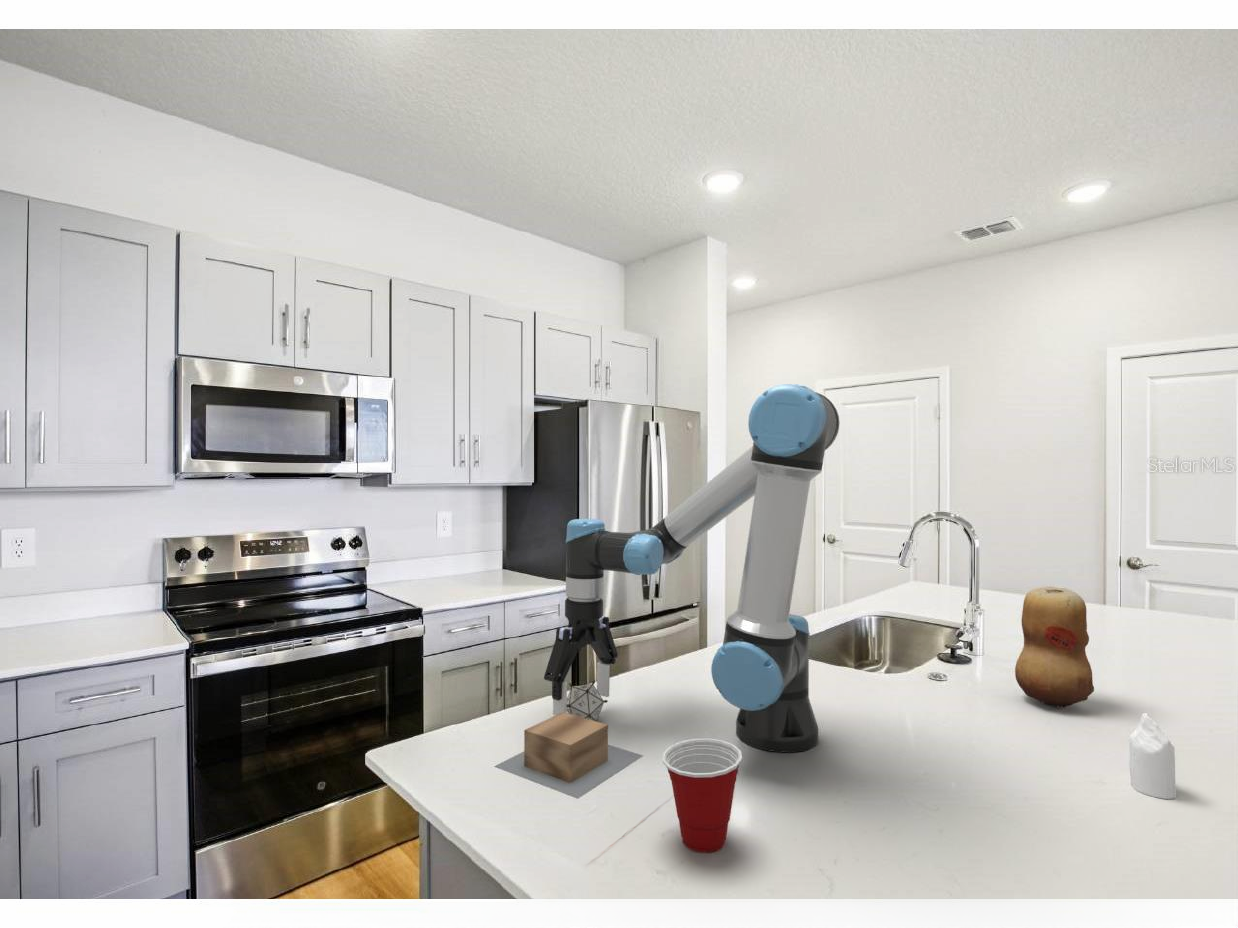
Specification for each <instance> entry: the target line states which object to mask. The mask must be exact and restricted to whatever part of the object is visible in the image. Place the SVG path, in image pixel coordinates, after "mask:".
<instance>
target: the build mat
mask: <svg viewBox="0 0 1238 928" xmlns="http://www.w3.org/2000/svg"><path fill="white" fill-rule="evenodd" d="M643 757H644V755H643V754H639V753H636V752H633V751H630V750H626V749H624V748H620V747H617V746H614V745H611V744H610V745H609V744H608V760H607V761H605V762H604V763H602V764H601V765H599V766H597V767H596V768H594V769H592V770H591V771H589V772H587V773H586V774H584V775H583V776H581V777H579V778H578V779H576V780H574V781H573V782H571V783H569V782H566V781H563V780H561V779H558V778H555V777H553V776H550V775H547V774H544V773H542V772H539V771H536V770H534V769H531V768H528V767H525V766H524V750H523V751H522V752H520V753H518V754H516V755H514V756H512V757H510V758H508V759H506V760H504V761H501V762H499V763H498V764H496V765H494V767H495V768H497V769H500V770H502V771H504V772H506V773H509V774H513V775H515V776H516V777H517V776H518V777H520V778H523V779H526V780H528V781H531V782H533V783H536V784H539V785H542V786H544V787H547V788H549V789H551V790H554V791H557V792H559V793H562V794H564V795H566V796H570V797H572V798H575V799H580V798H581V797H583V796H585V795H586V794H587V793H589V792H591V791H592V790H594V789H595V788H597V787H598V786H599V785H601V784H603V783H604V782H606V781H607V780H609V779H611V778H612V777H613V776H614V775H617V774H618V773H620V772H621V771H622V770H625V769H626V768H627V767H629V766H630V765H632V764H633V763H635V762H637V761H638V760H639V759H641V758H643Z"/></svg>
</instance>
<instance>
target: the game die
mask: <svg viewBox="0 0 1238 928" xmlns="http://www.w3.org/2000/svg"><path fill="white" fill-rule="evenodd" d="M595 683H596V681H595V680H593V681H592V682H591V683H590V684H582V685H573V684H572V682H571V683H570V682H569V683H568V686H569V687H570V689H569V692H568V693H567V713H569V714H572V715H575V716H579V717H582V718H586V719H589V720H593V721H596V722H598V719H599V716H600V714H601V711H602V709H603V707H604V704H605V703H606V704H607V703H608V702H609V701H608V700H607V699H605V700H604V699H603V696H601V695H600V694H599V693H598V691H597V687H595Z"/></svg>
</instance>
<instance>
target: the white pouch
mask: <svg viewBox="0 0 1238 928" xmlns="http://www.w3.org/2000/svg"><path fill="white" fill-rule="evenodd" d="M1175 750H1176V749H1175V746H1174V745H1173V744H1172V742H1171V740H1170V739H1169V737H1168V736H1167V735H1166V733H1165V732H1163V730H1162V728H1161V727H1160V725H1158V724H1157V723H1156V722H1155V721H1154V720H1153V718H1151V716H1149V714H1148V713H1147V712H1144V713H1142V715H1141V717H1140V719H1139V723H1138V725H1137V727H1136V728H1135V730H1133V732H1132V733H1131V734H1130V736H1129V756H1128V757H1129V761H1128V762H1129V764H1128V766H1129V775H1130V785H1131V787H1132V788H1133V790H1135V791H1136V792H1139V793H1141V794H1144V795H1146V796H1149V797H1153V798H1156V799H1164V800H1174V799H1176V797H1177V791H1176V789H1177V788H1176V786H1177V785H1176V754H1175V752H1176V751H1175Z"/></svg>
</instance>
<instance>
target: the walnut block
mask: <svg viewBox="0 0 1238 928" xmlns="http://www.w3.org/2000/svg"><path fill="white" fill-rule="evenodd" d="M523 732H524V734H523V735H524V736H523V737H524V741H523V742H524V743H523V744H524V745H523V747H524V749H523V751H524V766H525V767H528V768H531V769H534V770H536V771H539V772H542V773H544V774H547V775H550V776H553V777H555V778H558V779H561V780H563V781H566V782H569V783H571V782H573V781H574V780H576V779H578V778H579V777H581V776H583V775H584V774H586V773H587V772H589V771H591V770H592V769H594V768H596V767H597V766H599V765H601V764H602V763H604V762H605V761H607V760H608V745H609V724H606V723H604V722H603V723H602V722H600V721H597V722H596V721H593V720H589V719H586V718H582V717H579V716H575V715H572V714H569V713H565V712H562V713H560V714H558V715H553V716H552V717H550V718H547V719H545V720H543V721H541V722H539V723H536V724H534V725H532V726H530V727H528V728H526V729H524V731H523Z"/></svg>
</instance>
